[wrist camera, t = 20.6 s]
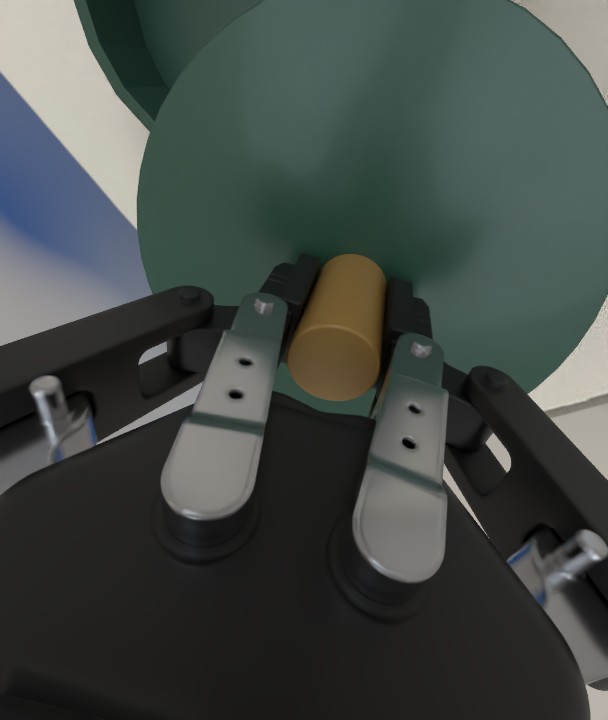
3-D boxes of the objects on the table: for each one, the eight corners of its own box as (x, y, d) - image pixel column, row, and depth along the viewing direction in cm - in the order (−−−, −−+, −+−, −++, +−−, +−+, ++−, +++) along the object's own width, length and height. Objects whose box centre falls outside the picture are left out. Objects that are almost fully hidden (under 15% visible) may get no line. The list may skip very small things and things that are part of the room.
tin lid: (132, -89, 11) (-95, -224, 6) (771, 55, 10) (1131, 39, 5) (160, 375, 21) (88, 466, 16) (469, 463, 20) (490, 585, 15)
